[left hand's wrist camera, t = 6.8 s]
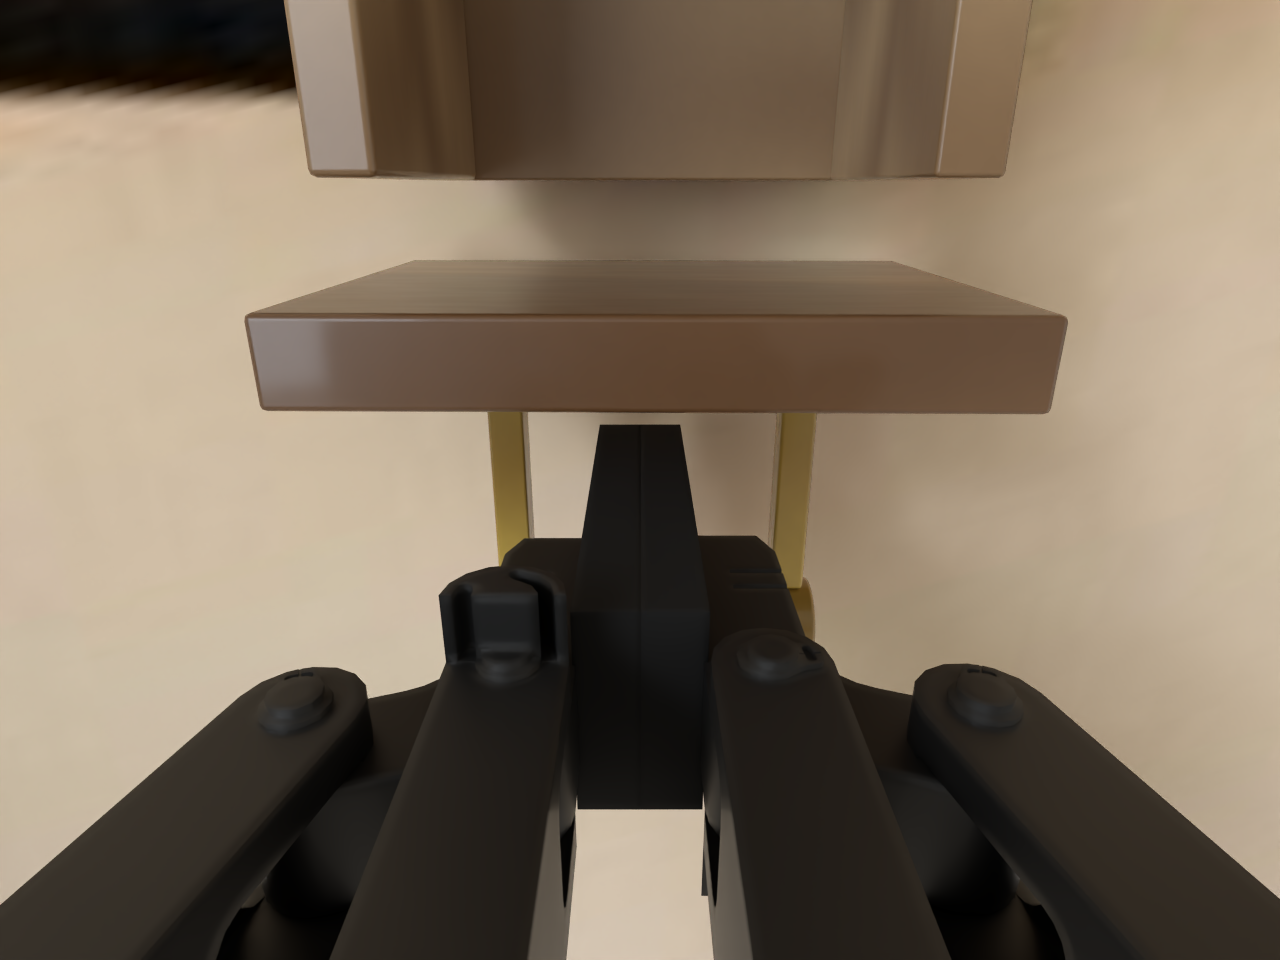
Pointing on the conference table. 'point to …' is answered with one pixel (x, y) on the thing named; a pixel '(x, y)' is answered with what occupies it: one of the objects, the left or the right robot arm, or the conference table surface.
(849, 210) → the conference table surface
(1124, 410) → the conference table surface
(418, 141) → the drawer
